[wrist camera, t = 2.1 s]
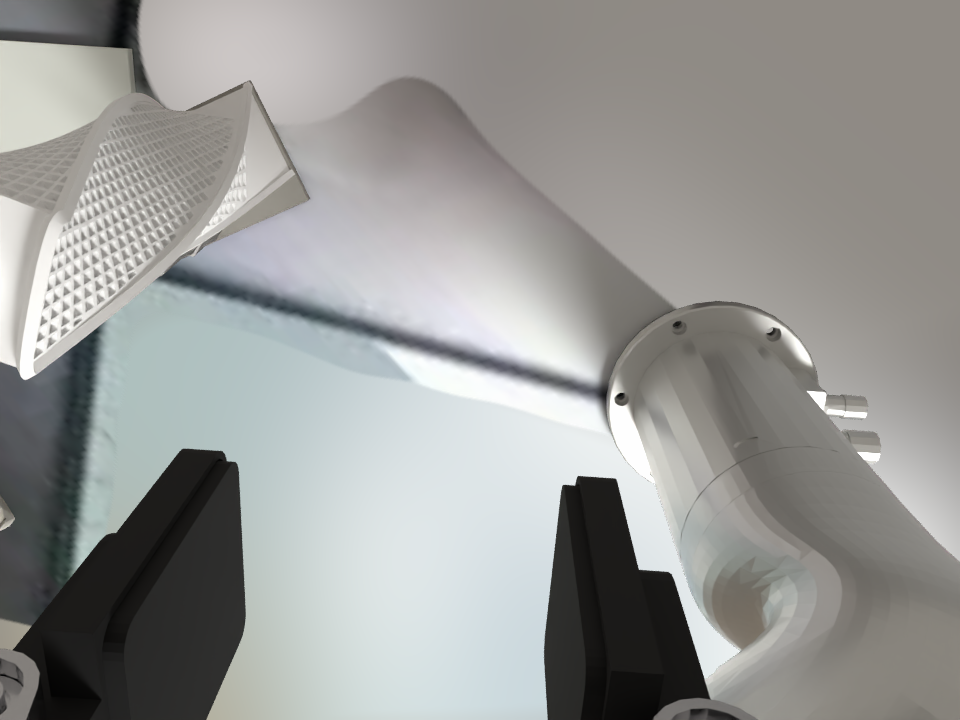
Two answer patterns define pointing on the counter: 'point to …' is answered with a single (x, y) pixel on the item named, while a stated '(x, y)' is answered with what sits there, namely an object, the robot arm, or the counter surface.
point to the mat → (57, 88)
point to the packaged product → (5, 515)
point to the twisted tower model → (126, 211)
